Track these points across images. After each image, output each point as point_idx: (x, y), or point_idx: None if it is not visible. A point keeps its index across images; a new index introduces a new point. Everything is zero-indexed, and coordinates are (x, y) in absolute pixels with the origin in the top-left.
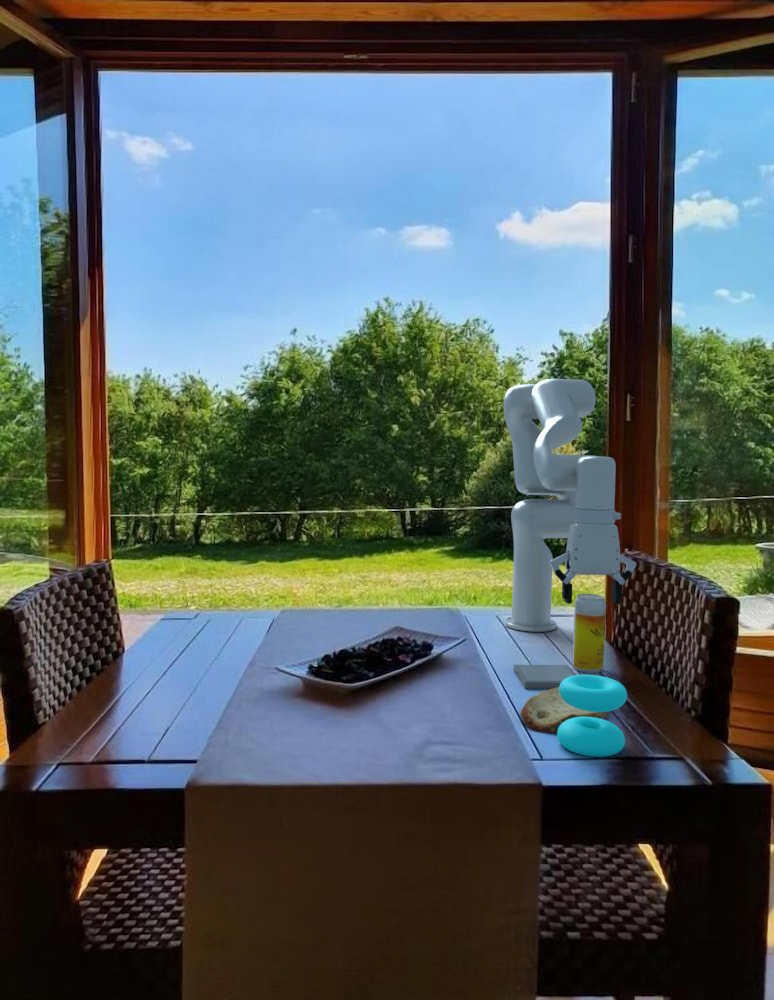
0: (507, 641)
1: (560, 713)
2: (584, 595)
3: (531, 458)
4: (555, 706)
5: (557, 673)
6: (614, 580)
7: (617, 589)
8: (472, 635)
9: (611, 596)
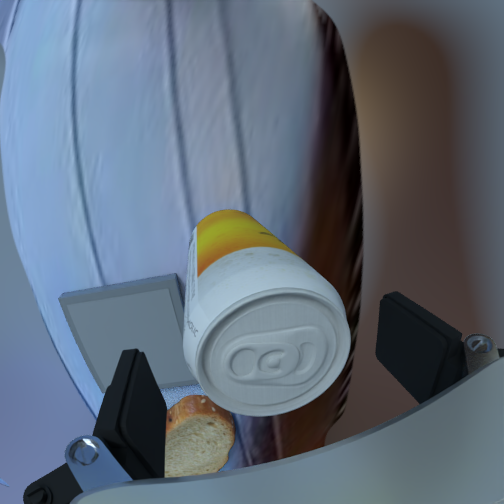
0: (59, 48)
1: (173, 476)
2: (248, 312)
3: None
4: (165, 465)
5: (152, 345)
6: (454, 377)
7: (415, 395)
8: (5, 40)
9: (394, 309)
